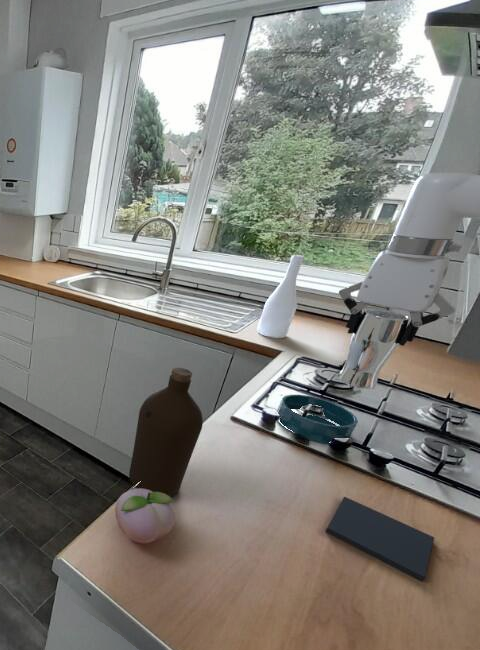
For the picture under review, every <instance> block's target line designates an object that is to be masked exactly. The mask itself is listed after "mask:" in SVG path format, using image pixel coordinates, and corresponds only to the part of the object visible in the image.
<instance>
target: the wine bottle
mask: <svg viewBox="0 0 480 650" xmlns="http://www.w3.org/2000/svg"><path fill="white" fill-rule="evenodd" d="M304 259H305V258H304V255H301V254H292V256H291V257H290V258H289V265H288V267H287V270H286V271H285V275H284V277H283V279H282V280H281V281H280V283H279V284H278V286H277V287H276V288H275V289H274V291H273V292H272V293H271V295H270V296H269V297H268V298H267V300H266V301H265V303H264V306H263V309H262V313H261V315H260V318H259V321H258V325H257V327H256V331H257V333H258V334H260V335H262V336H265V337H268V338H271V339H282V338H285V337H287V335H288V333H289V330H290V327H291V324H292V322H293V320H294V317H295V314H296V310H297V308H298V298H297V297H298V296H297V279H298V274H299V271H300V270H301V269H300V268H301V265H302V263H303V262H304Z"/></svg>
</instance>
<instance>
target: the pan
mask: <svg viewBox="0 0 480 650" xmlns="http://www.w3.org/2000/svg"><path fill="white" fill-rule="evenodd" d="M308 404H312V405H318V406H321V407H322V408H324V410H323V412H324V415H325V417H326V418H327V419H330V420H331V421H334V422H335V423H337V424H339V425H340V426H336V425H335V424H333V423H331V422H329V421H327V420H325V419H323V418H320V417H318V416H314V415H313V416H312V415H308V416H306V418H305V417H303V416H301V415H299V414H297V413H295V412H293V411H292V410H291V409H300V408H301V407H302V406H305V405H308ZM276 412H278V414H279V415H280V417H281V418H280V422H281V423H282V424H283V425H284V426H286V427H287V428H288V429H290V430H292V431H293V432H295V433H297V434H300V435H302V436H305V437H307V438H309V439H307V438H305V437H302V436H300V435H297V434H295V433H293V432H292V431H290V430H288V429H286V428H285V427H284V426H282V425H281V424H280V423H279V422H278V424H279V425H280V426H281V427H282V428H284V429H285V430H286V431H288V432H290V433H291V434H293V435H296V436H298V437H300V438H302V439H305V440H308V441H311V442H315V443H320V444H324V445H331V444H330V443H329V442H330V441H331V440H332V439H333V438H350V439H351V437H352V435H353V434H354V431H355V429H356V427H357V425H358V423H359V421H358V417H357V416H356V415H355V414H353V413H352V412H351V411H350V410H349V409H347V408H345V407H343V406H342V405H340V404H337V403H335V402H333V401H329V400H326V399H324V398H320V397H315V396H311V395H304V394H288V395H284V396H283V397H282V398H281V399H280V402H279V405H278V407H277V410H276Z"/></svg>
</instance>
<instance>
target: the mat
mask: <svg viewBox="0 0 480 650" xmlns="http://www.w3.org/2000/svg"><path fill="white" fill-rule="evenodd" d="M324 532H325V533H326V534H329V535H331V536H333V537H335V538H336V539H339V540H341V541H342V542H345V543H346V544H348V545H350V546H352V547H354V548H356V549H358V550H359V551H362V552H363V553H366V554H367V555H369V556H372V557H373V558H375V559H377V560H378V561H381V562H384V564H385V563H386V564H387V565H389V566H391V567H393V568H395V569H396V570H399V571H401V572H402V573H405V574H406V575H408V576H410V577H413V578H414V579H416V580H418V581H420V582H423V581H424V580H425V578H426V575H427V571H428V567H429V562H430V558H431V554H432V550H433V545H434V540H435V537H434V536H433V535H430V534H428V533H427V532H423V531H421V530H420V529H417V528H415V527H413V526H411V525H408V524H406V523H404V522H402V521H399V520H398V519H395V518H393V517H391V516H389V515H386V514H384V513H382V512H380V511H378V510H376V509H373V508H371V507H369V506H366V505H365V504H362V503H360V502H358V501H355V500H353V499H351V498H349V497H346V496H343V498H342V499H341V501H340V503H339V505H338V507H337V508H336V511H335V512H334V514H333V516H332V518H331V519H330V522H329V523H328V525H327V527H326V529H325V531H324Z"/></svg>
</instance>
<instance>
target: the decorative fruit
mask: <svg viewBox="0 0 480 650" xmlns="http://www.w3.org/2000/svg"><path fill="white" fill-rule="evenodd" d="M173 502H174V499H173V497H170V496H168V495H166V494H164V493H161V492H152V491H150V490H147V489H141V488H138V489H137V488H133V489H130V490H128V491H125V492H124V493H122V494H121V495H120V496H119V497H118V498H117V501H116V503H115V508H114V514H115V519H116V522H117V526H118V528H119V529H120V532H122V535H124V536H125V537H126V538H127V539H129V540H130V541H133V542H135V543H138V544H150V543H152V542H154V541H158V540H161V539H162V538H163V537H165V536H166V535H167V534H169V532H170V531H171V530H172V529H173V528H174V525H175V522H176V518H175V512H174V510H173V507H172V506H171V504H170V503H173Z"/></svg>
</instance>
